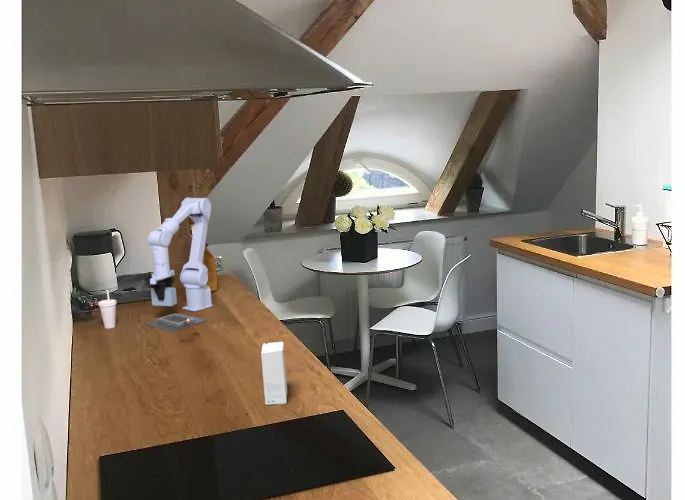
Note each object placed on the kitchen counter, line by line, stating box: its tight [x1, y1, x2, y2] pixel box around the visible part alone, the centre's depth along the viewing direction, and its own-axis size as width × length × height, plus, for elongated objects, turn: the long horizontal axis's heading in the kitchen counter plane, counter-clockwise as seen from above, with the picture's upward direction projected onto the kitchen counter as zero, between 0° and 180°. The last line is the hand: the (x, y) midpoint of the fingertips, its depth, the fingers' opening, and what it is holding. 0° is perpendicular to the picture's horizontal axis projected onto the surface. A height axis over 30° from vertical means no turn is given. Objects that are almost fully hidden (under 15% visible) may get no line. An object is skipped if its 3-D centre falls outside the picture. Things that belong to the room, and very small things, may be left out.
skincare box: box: [260, 341, 288, 406], centre depth 185 cm, size 8×6×15 cm
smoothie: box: [97, 289, 117, 329], centre depth 255 cm, size 6×6×14 cm
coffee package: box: [193, 242, 218, 292], centre depth 303 cm, size 10×12×22 cm
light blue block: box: [150, 287, 178, 307], centre depth 259 cm, size 8×4×6 cm, turn 76°
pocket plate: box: [145, 312, 208, 333], centre depth 258 cm, size 16×16×3 cm
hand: (164, 298), depth 259 cm, fingers closed on light blue block, 4 cm apart
